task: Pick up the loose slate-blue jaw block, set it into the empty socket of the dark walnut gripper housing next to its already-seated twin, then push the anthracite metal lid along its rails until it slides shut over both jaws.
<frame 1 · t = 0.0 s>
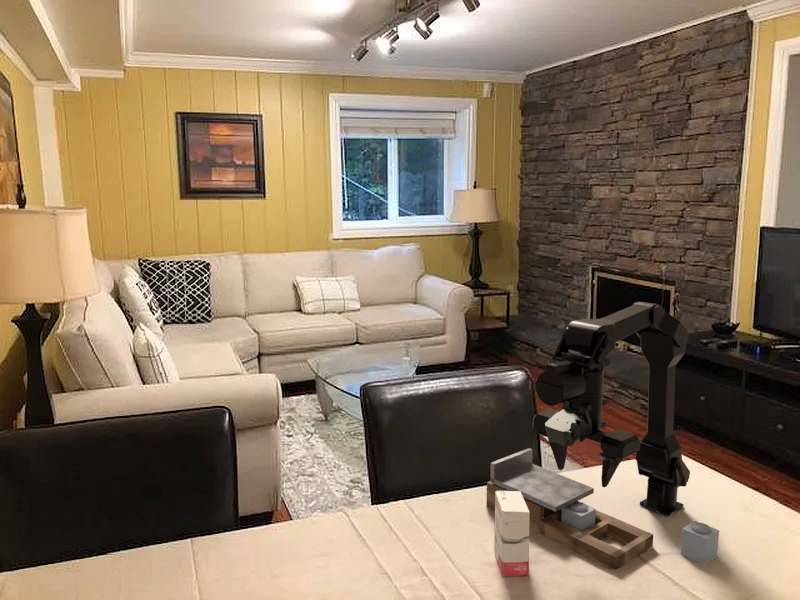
hand: (582, 477, 117), 15 cm above the table, fingers open, 9 cm apart
housing: (594, 539, 124), on the table
seated jaw: (577, 532, 127), resting in housing
ink box: (510, 563, 116), on the table
lid: (541, 477, 132), point 8 cm above the table, slide at 13.0 cm
loose jaw: (698, 555, 118), on the table
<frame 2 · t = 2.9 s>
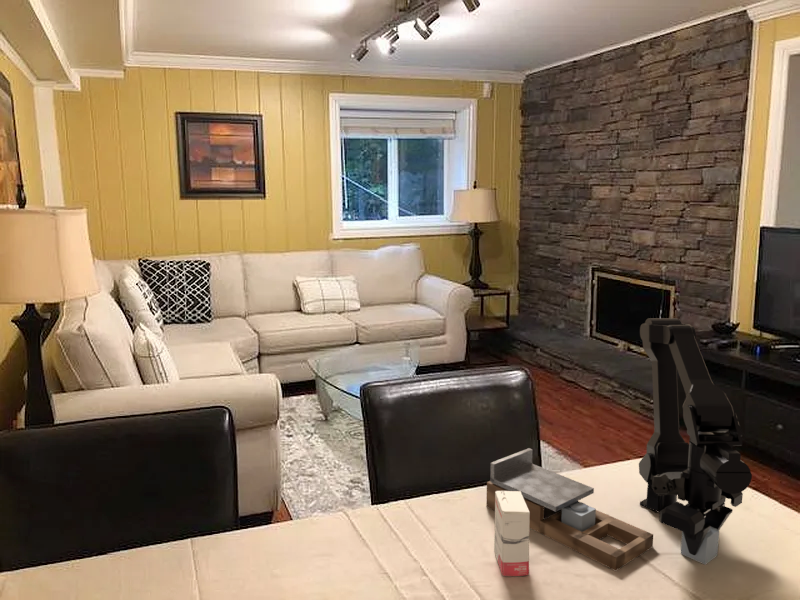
hand: (699, 549, 118), 1 cm above the table, fingers closed on loose jaw, 4 cm apart
loose jaw: (698, 554, 118), on the table, touching gripper
everything else where it was.
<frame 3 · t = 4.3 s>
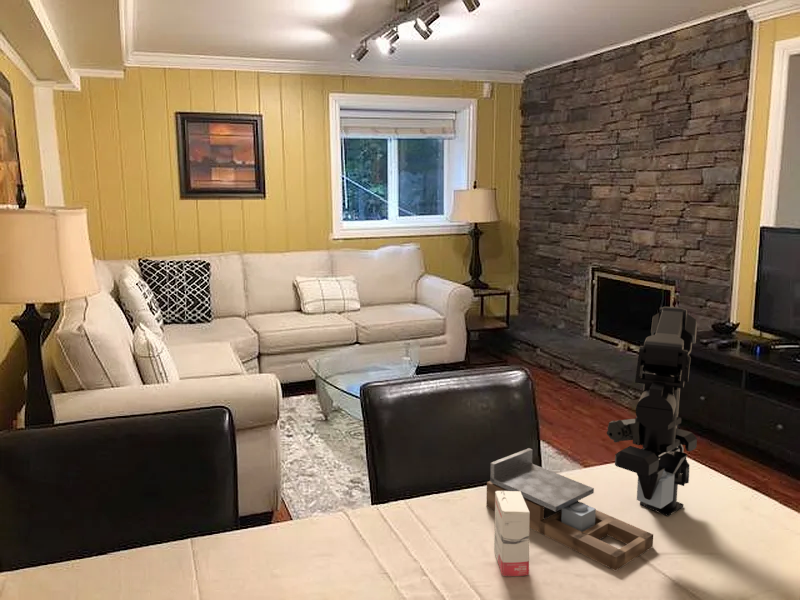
hand: (654, 494, 118), 11 cm above the table, fingers closed on loose jaw, 4 cm apart
loose jaw: (654, 500, 118), point 10 cm above the table, touching gripper
everything else where it was.
when the fingers open (3 cm above the table, at t = 6.2 s): loose jaw drops 3 cm, resting in housing.
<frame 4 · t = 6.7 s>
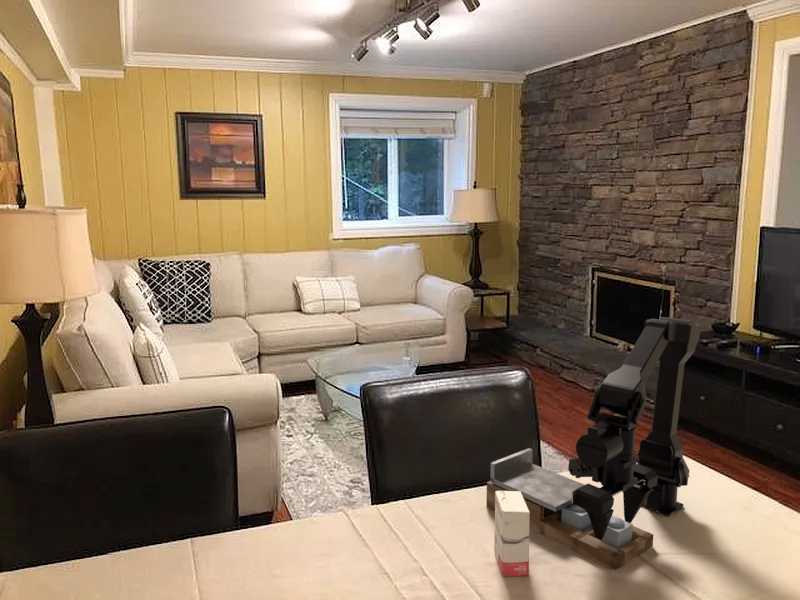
hand: (613, 530, 120), 3 cm above the table, fingers open, 9 cm apart
loose jaw: (613, 548, 121), resting in housing
everything else where it was.
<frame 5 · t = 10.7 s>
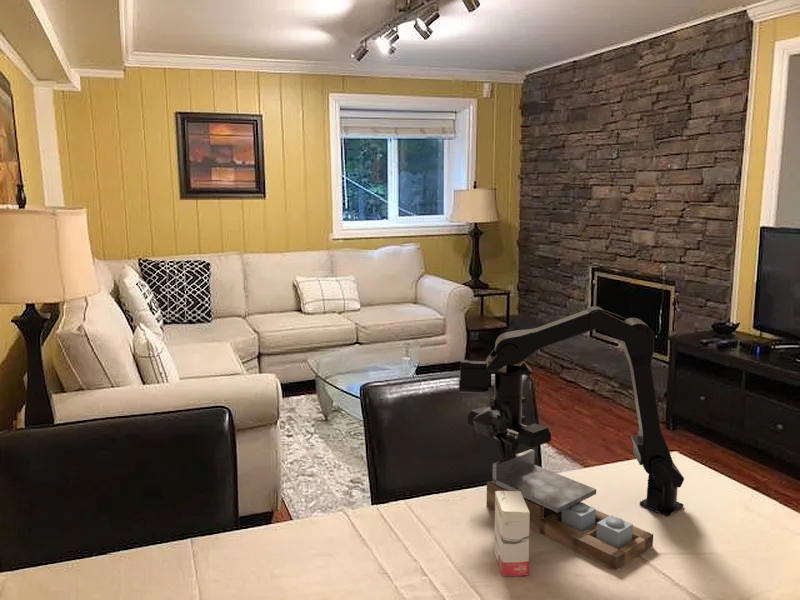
hand: (507, 464, 140), 8 cm above the table, fingers closed
lid: (543, 478, 132), point 8 cm above the table, slide at 12.4 cm, touching gripper
everything else where it was.
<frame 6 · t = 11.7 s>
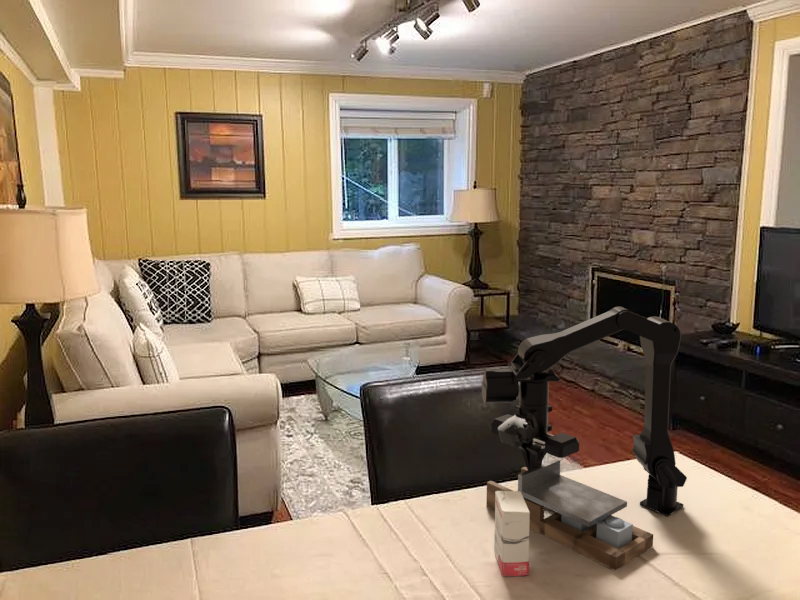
hand: (532, 474, 134), 8 cm above the table, fingers closed
lid: (571, 490, 127), point 8 cm above the table, slide at 5.6 cm, touching gripper
everything else where it was.
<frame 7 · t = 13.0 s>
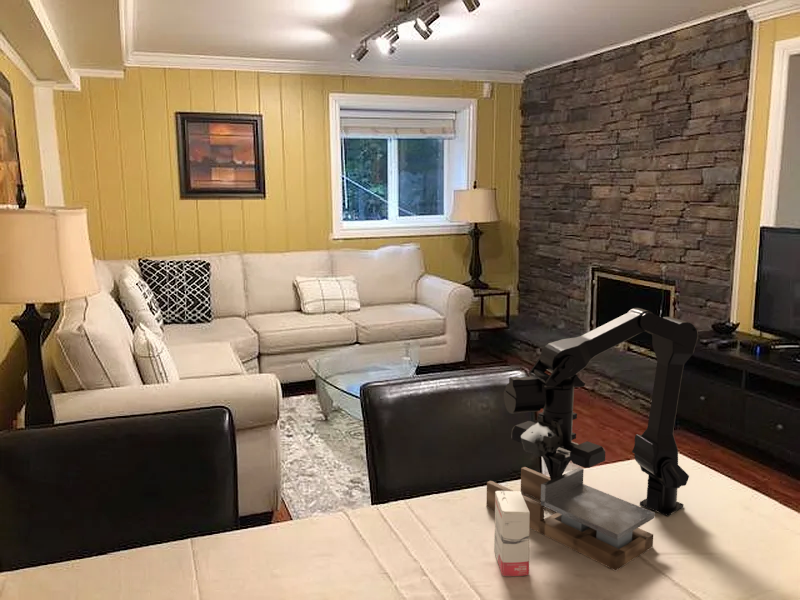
hand: (554, 483, 130), 8 cm above the table, fingers closed
lid: (596, 500, 122), point 8 cm above the table, slide at 0.0 cm, touching gripper
everything else where it was.
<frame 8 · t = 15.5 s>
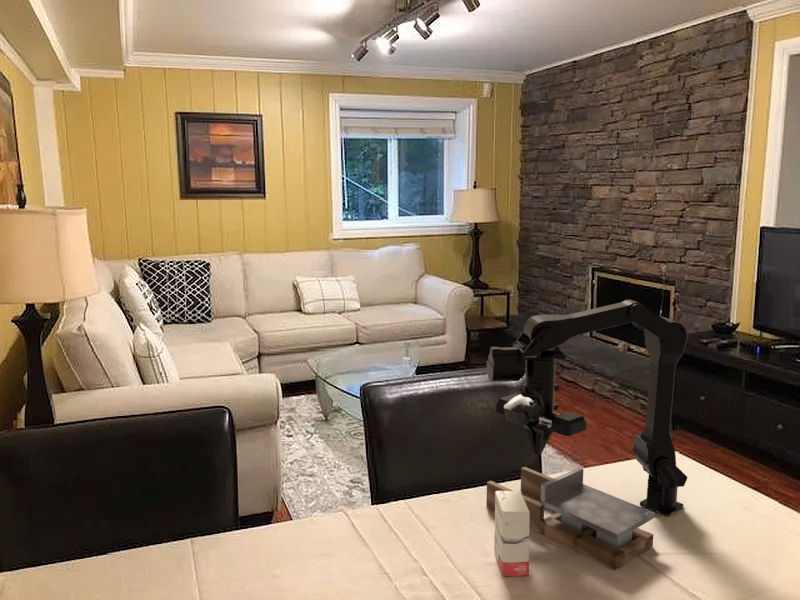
hand: (537, 454, 132), 12 cm above the table, fingers closed
lid: (596, 500, 122), point 8 cm above the table, slide at 0.0 cm
everything else where it was.
at the end: loose jaw 0.1 cm from the target spot on the housing, point 0.0 cm above the housing's base; loose jaw tilted 0°; lid slide at 0.0 cm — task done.
